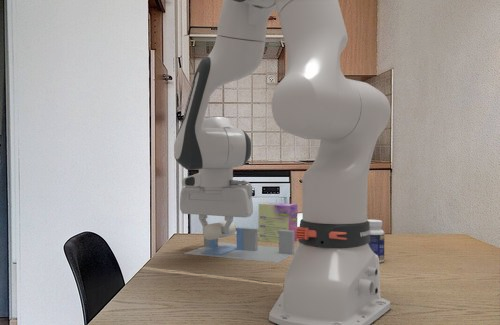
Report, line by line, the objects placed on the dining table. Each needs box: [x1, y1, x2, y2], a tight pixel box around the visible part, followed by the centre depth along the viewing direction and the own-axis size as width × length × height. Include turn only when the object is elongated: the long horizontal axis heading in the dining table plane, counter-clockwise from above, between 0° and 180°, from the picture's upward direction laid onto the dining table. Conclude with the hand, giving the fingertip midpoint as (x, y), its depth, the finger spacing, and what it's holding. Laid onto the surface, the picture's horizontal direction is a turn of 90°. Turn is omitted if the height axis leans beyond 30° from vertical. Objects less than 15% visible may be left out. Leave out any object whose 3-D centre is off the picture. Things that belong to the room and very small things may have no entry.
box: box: [257, 202, 299, 244], centre depth 137 cm, size 10×6×12 cm, turn 58°
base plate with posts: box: [183, 226, 297, 264], centre depth 120 cm, size 18×26×7 cm
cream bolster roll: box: [202, 221, 237, 240], centre depth 122 cm, size 12×4×4 cm, turn 157°
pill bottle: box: [367, 219, 385, 264], centre depth 112 cm, size 6×6×10 cm
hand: (215, 232), depth 119 cm, fingers closed on cream bolster roll, 4 cm apart
